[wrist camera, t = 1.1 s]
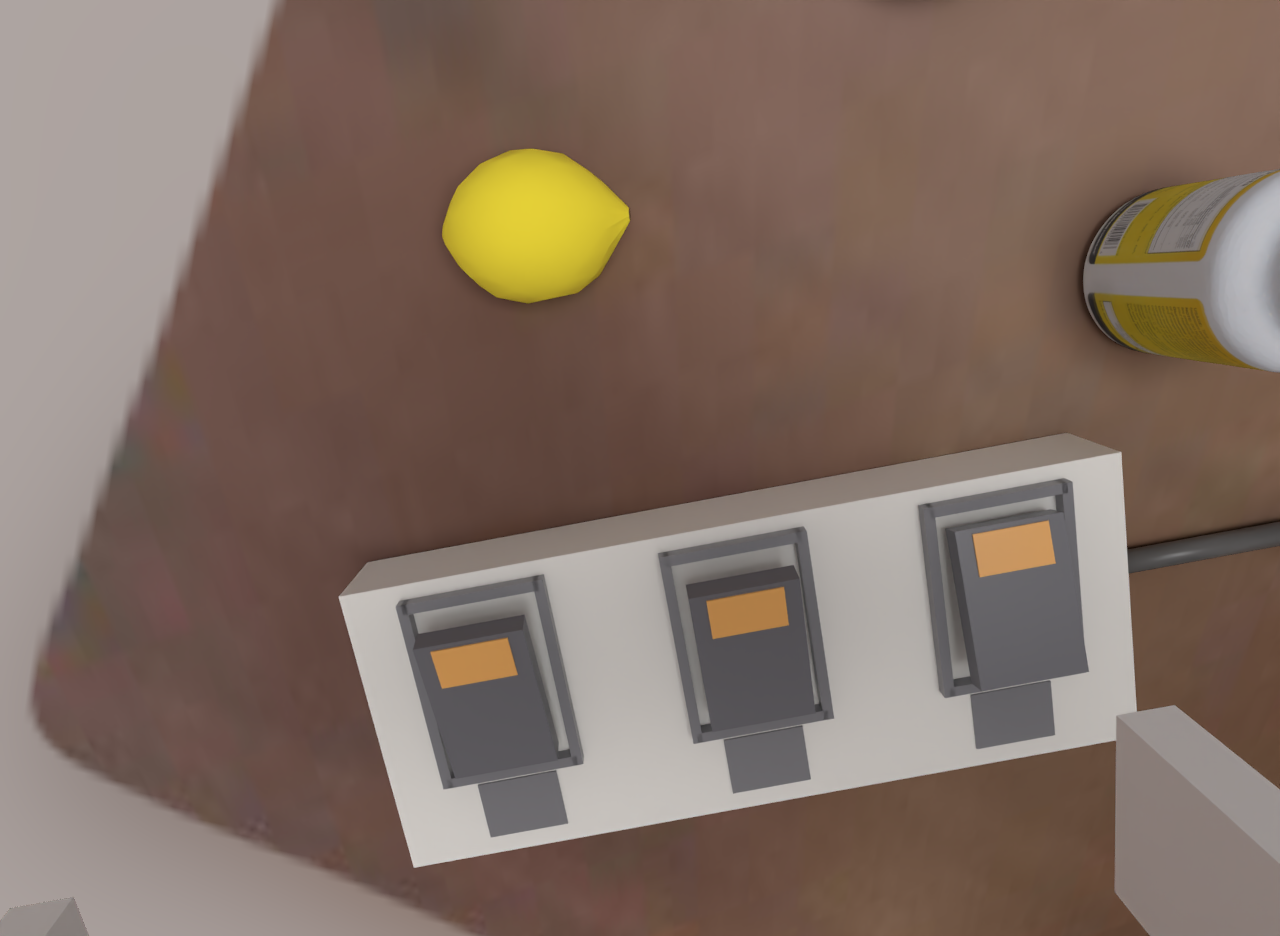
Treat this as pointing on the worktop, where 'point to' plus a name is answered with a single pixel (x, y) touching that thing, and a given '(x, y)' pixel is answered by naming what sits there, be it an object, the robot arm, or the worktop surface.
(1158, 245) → the pill bottle
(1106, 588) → the rocker switch box
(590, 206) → the lemon
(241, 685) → the worktop surface
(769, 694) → the dark grey flat block
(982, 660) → the rocker
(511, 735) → the rocker
